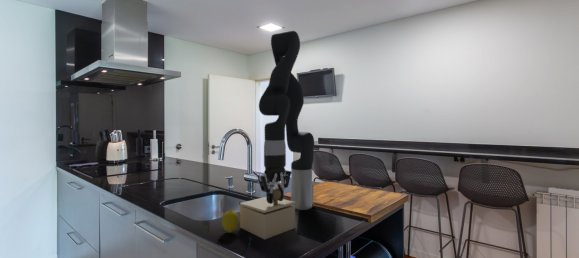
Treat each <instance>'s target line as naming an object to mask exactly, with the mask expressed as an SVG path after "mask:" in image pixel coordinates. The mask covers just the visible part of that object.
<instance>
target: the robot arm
mask: <svg viewBox="0 0 579 258" xmlns="http://www.w3.org/2000/svg"><path fill="white" fill-rule="evenodd" d="M270 46H271V47H270V48H271V51H272V55H273V59H274V63H275V67H274V68H273V69H272V71H271V74H270V77H269V82H268V85H267V87H266V89H265V90H264V92H263V93H262V95H261V97H260V99H259V102H258V110H259V112H260V113H261V114H262V115H263V116H266V117H267V116H268V117H269V116H270V117H271V116H278V117H277V119H276V120H275V121H273V122H267V123H265V125H264V141H263V142H264V143H263V166H264V168H265V169H264V172H263V173H262V174H261V175H260V174H258V175H257V180H258V184H259V187H260V191H261V192H265V194H266V196H265V197H267V198H266V200H267V202H268V203H269V204H272V203H273V193H272V192H273V189H274V188H275V185H276V187H277V189H279V190H280V192H281V196H280V198H279V199H278V200H279V201H283V199H285V198H284V195H285V193H284V191H285V189H286V188H288V187H289V184H290V201H294V202H295V204H293V206H295V210H298V211H306V210H307V211H308V210H309V209H312V208H313V206H312V204H313V205H314V184H313V163H314V159H315V157H314V153H315V137H314V135H313V134H312V133H311V132H308V131H306V132H305V131H299V125H298V120H299V117H300V114H301V112H302V110H303V106H304V101H305V99H304V92H303V87H302V84H301V83H300V81H299V80H298V79H297V78H296V76H295V75H294V74H293V73H292V70H293V68H294V66H295V63H296V61H297V59H298V56H299V52H300V50H301V40H300V36H299V34H298V32H297V31H295V30H287V31H281V32H278V33H273V34H271V38H270ZM286 144H287V147H288V149H289V151H290V152H292V153H298V154H300V157H299V158H298V159H296V160H293V161H292V162H291V164H290V170H287V169H285V167H286V165H287V159H286V158H287V157H286V155H287V153H286V152H287V151H286V150H287V149H286V148H287V147H286ZM290 180H291V181H290Z"/></svg>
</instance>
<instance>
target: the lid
mask: <svg viewBox="0 0 579 258" xmlns="http://www.w3.org/2000/svg"><path fill="white" fill-rule="evenodd" d="M272 193H273V203H272V204H269V203H268V202H267V200H266V198H267V197H266V196H263V197H260V198H255V199H252V200H247V201H242V202H240V203H239V207H240V206H244V207H247V208H250V209H253V210H256V211H260V212H263V213H266V212H270V211H273V210H276V209H280V208H283V207H286V206H290V205H293V204H295V202H294V201H291V199H290V200H288V199H285V198H283V201H279V200H278V199H279V198H280V196H281V192H280V190H279V189H278V188H275V187H273V192H272Z"/></svg>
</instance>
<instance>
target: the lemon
mask: <svg viewBox="0 0 579 258" xmlns="http://www.w3.org/2000/svg"><path fill="white" fill-rule="evenodd" d="M239 222H240V219H239V216H238V213H236V211H234V210H232V209H229V210H228V211H226V212H225V213H224V214H223V216H222V219H221V225H222V228H223V229H224V231H226V232H228V233H229V234H231V233H233V232H234V231H235V230H236V229H237V228H238V226H239Z"/></svg>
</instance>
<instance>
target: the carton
mask: <svg viewBox="0 0 579 258" xmlns="http://www.w3.org/2000/svg"><path fill="white" fill-rule="evenodd" d="M239 222H240V223H239V226H240V227H239V228H241V229H242V230H243V231H247V232H249V233H251V234H252V235H255V236H257V237H258V238H261V239H262V240H267V239H271V238H273V237H274V236H275V237H276V236H278V235H280V234H282V233H285V232H288V231H291V230H293V229H295V228H296V209H295V206H293V205H290V206H286V207H283V208H280V209H276V210H273V211H270V212H266V213H263V212H260V211H256V210H253V209H250V208H247V207H244V206H240V205H239Z"/></svg>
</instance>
